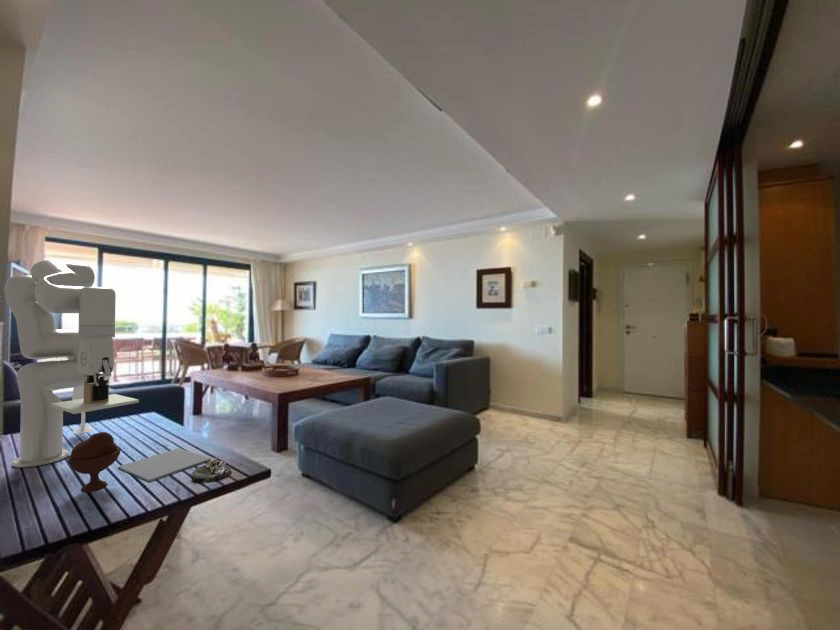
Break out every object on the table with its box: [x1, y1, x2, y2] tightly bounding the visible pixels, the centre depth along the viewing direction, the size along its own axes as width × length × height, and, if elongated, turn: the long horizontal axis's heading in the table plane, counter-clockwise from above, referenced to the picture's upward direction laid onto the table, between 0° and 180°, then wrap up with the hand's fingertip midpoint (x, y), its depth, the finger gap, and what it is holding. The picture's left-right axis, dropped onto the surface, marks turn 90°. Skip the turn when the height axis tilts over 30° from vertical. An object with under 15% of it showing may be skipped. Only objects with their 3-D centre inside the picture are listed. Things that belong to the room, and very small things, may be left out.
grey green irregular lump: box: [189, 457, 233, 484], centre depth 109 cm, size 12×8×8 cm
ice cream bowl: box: [66, 431, 122, 493], centre depth 100 cm, size 11×11×15 cm
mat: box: [117, 447, 212, 483], centre depth 116 cm, size 18×18×1 cm
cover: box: [51, 383, 140, 415], centre depth 100 cm, size 14×14×6 cm
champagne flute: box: [71, 386, 95, 435], centre depth 146 cm, size 7×7×24 cm
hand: (96, 398), depth 100 cm, fingers closed on cover, 4 cm apart
